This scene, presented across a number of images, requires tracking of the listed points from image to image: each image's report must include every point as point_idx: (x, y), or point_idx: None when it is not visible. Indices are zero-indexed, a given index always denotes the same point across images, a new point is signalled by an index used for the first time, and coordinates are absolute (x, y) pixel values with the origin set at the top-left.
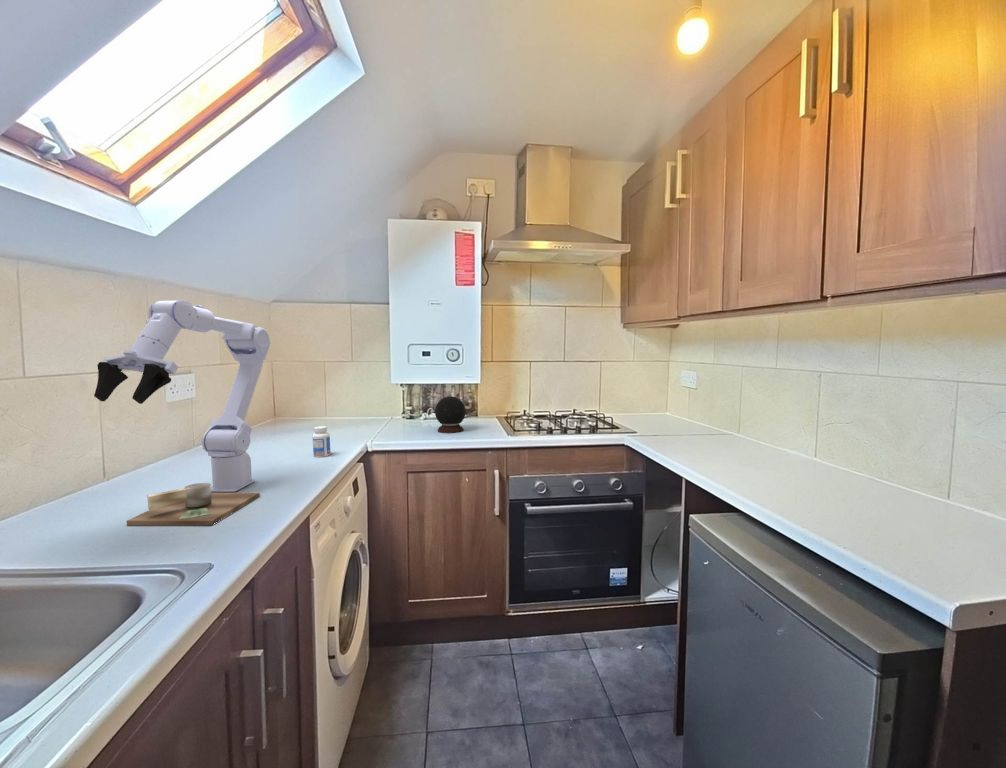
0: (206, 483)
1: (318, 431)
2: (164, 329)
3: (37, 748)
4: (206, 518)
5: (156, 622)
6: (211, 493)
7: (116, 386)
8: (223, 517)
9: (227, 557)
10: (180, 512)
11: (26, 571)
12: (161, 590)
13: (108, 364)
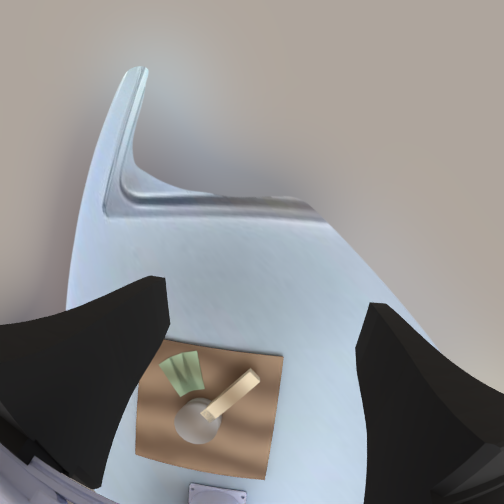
0: (188, 438)
1: None
2: None
3: (136, 68)
4: None
5: (119, 131)
6: (216, 470)
7: (367, 446)
8: None
9: (95, 228)
10: (214, 385)
11: (300, 213)
12: (131, 167)
13: (475, 442)
